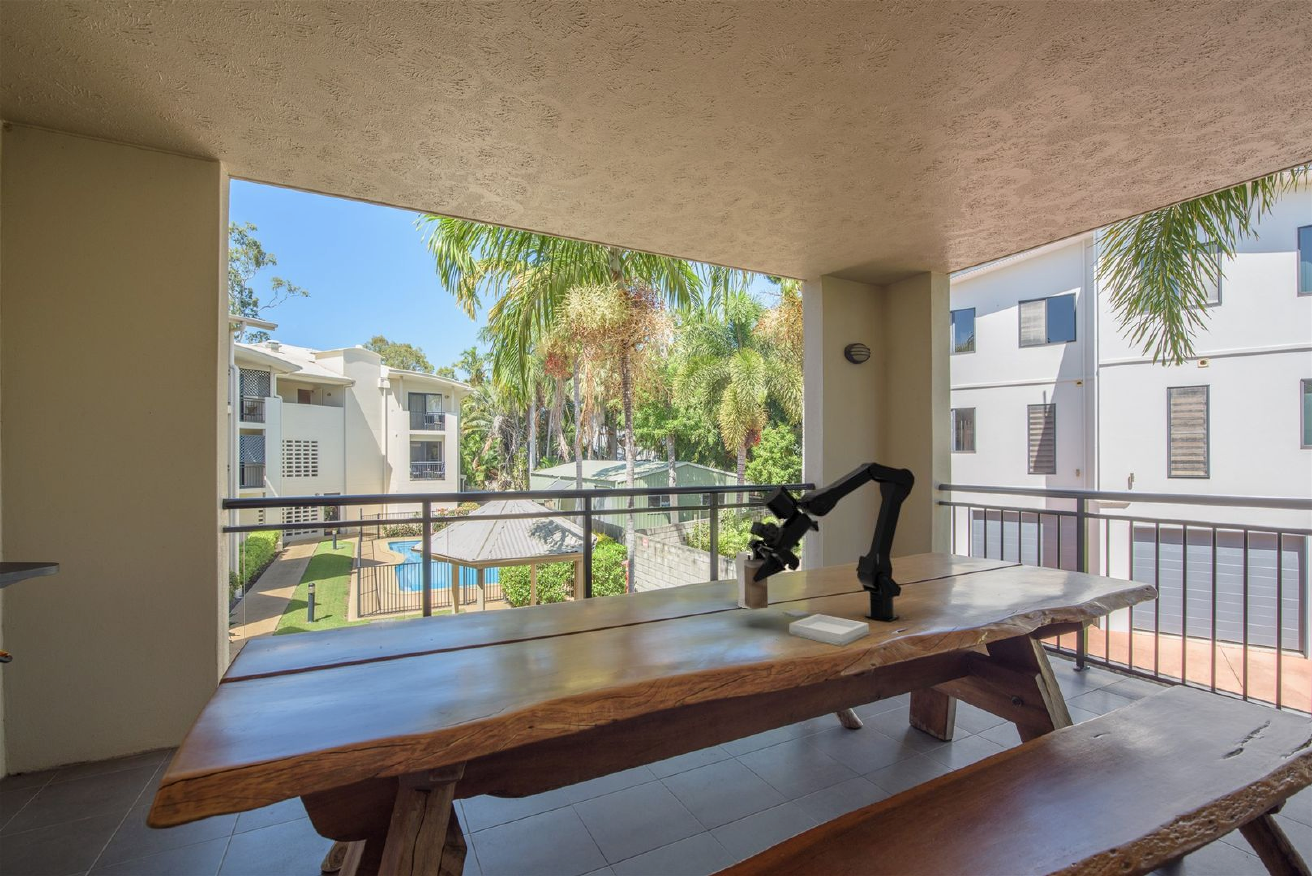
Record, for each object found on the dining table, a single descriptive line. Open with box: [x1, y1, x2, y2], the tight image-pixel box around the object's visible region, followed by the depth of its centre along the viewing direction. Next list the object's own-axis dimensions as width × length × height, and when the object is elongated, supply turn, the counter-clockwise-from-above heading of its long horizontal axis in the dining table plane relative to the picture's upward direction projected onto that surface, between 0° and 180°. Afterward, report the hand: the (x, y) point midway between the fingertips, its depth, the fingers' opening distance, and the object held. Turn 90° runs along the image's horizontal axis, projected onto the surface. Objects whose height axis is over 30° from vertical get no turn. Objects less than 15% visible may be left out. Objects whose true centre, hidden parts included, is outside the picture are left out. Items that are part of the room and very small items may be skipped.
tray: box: [788, 613, 870, 647], centre depth 133 cm, size 13×13×2 cm
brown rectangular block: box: [744, 559, 769, 610], centre depth 140 cm, size 4×4×11 cm
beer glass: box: [735, 550, 753, 610], centre depth 161 cm, size 7×7×15 cm
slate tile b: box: [782, 609, 811, 619], centre depth 151 cm, size 5×5×1 cm
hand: (750, 579), depth 140 cm, fingers closed on brown rectangular block, 4 cm apart
